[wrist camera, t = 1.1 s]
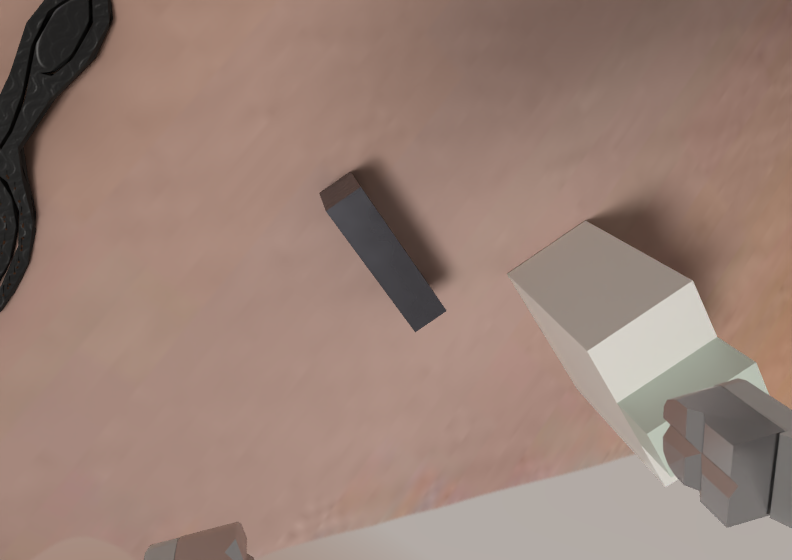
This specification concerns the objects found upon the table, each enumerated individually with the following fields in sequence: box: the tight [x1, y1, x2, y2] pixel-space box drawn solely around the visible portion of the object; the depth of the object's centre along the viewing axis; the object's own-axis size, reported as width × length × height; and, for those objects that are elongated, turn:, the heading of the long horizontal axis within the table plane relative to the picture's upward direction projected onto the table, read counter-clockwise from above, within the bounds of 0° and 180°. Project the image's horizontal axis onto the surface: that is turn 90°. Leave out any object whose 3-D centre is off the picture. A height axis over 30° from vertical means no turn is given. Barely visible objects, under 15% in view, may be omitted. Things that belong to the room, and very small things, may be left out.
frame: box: [320, 172, 446, 332], centre depth 39 cm, size 10×2×4 cm, turn 33°
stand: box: [507, 221, 769, 487], centre depth 39 cm, size 13×7×15 cm, turn 33°
